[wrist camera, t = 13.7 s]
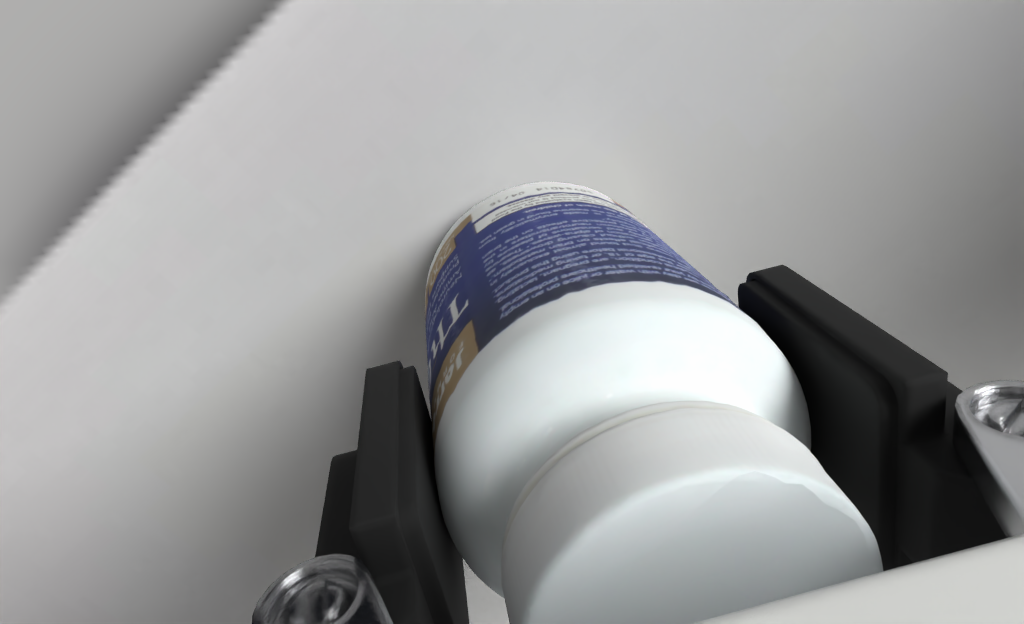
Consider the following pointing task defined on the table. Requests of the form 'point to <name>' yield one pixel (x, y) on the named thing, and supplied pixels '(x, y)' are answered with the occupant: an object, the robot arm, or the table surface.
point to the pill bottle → (618, 425)
